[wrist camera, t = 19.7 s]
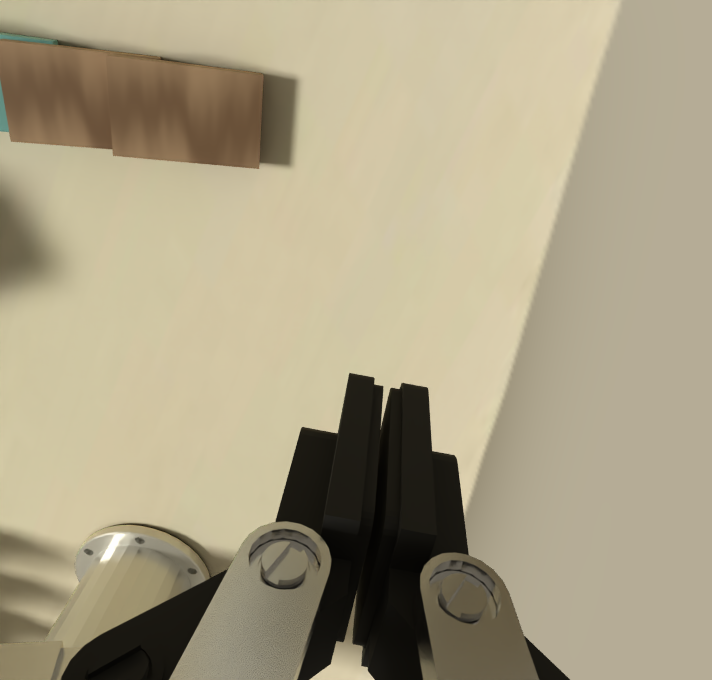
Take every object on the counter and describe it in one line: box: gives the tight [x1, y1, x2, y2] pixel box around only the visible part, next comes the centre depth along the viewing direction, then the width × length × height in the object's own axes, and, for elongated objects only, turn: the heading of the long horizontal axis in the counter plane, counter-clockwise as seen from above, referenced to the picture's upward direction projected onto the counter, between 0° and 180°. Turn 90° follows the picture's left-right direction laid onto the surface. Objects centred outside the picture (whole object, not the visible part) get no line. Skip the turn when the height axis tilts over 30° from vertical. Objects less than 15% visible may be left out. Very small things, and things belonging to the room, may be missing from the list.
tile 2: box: [0, 39, 161, 149], centre depth 31 cm, size 5×2×8 cm
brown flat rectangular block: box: [106, 54, 264, 169], centre depth 31 cm, size 5×2×8 cm
